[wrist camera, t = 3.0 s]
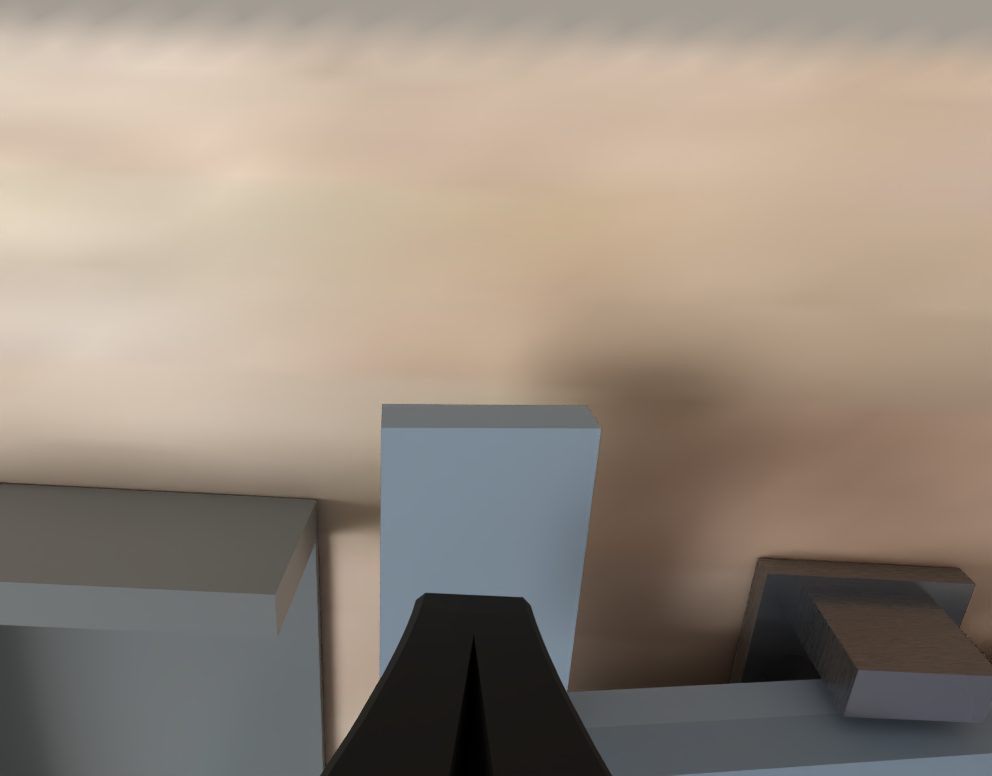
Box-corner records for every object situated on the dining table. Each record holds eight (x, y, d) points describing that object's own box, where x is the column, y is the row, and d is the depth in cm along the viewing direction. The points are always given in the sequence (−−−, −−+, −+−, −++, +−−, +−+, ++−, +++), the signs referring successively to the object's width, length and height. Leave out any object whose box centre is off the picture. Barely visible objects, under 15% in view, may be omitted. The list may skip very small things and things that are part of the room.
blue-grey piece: (1120, 876, 18) (1258, 1025, 15) (378, 950, 15) (375, 1148, 12) (1383, 405, 13) (1658, 491, 10) (382, 396, 11) (377, 507, 8)
